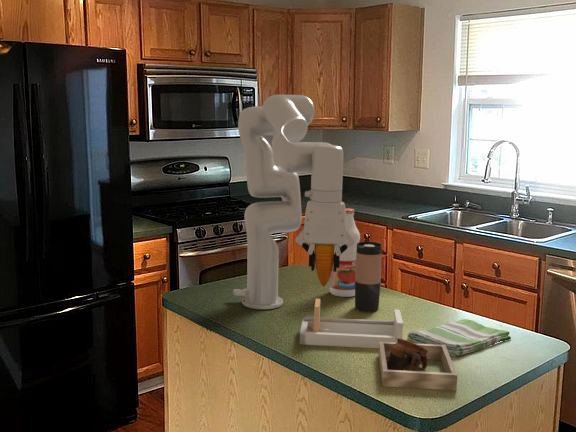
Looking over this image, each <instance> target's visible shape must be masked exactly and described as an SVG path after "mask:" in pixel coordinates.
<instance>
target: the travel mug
mask: <svg viewBox="0 0 576 432" xmlns="http://www.w3.org/2000/svg"><path fill="white" fill-rule="evenodd" d="M382 247H383V245H382V243H379V242H375V241H359V243H357V250H356V272H355V296H354V308H355V310H357V311H359V312H363V313H373V312H374V313H375V312H378V311H379V307H380V295H381V279H382V277H381V276H382V275H381V274H382V250H383V248H382Z"/></svg>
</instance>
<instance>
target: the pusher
mask: <svg viewBox="0 0 576 432" xmlns="http://www.w3.org/2000/svg"><path fill="white" fill-rule="evenodd" d="M313 311H314V316H313V317H314V332H326V333H330V331H331V329H320V318H321V298H315V303H314V310H313Z"/></svg>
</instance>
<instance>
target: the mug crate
mask: <svg viewBox="0 0 576 432" xmlns="http://www.w3.org/2000/svg"><path fill="white" fill-rule="evenodd" d="M395 343H396V342H379V348H378V359H379V369H380V376H381V385H382V387H387V388H388V387H389V388H391V387H392V388H407V389H421V390H422V389H423V390H424V389H425V390H442V391H443V390H444V391H457V390H458V389H457V388H458V386H457V385H458V373H457V371H456V368H455V365H454V363H453V361H452V358H451V355H449V353H448V350H447V348H446V345H435V344H420V343H417V342H415V343H414V342H413V343H414V344H417V345H419V346H421V347H423V348H424V349H426V350H427V351H428V352H427V354H426V357H427V360H433V361H434V360H437V361H440V362H441V364H442V367H443V369H444V372H437V371H436V372H435V371H422V370H421V371H420V370H419V371H417V370H416V371H405V370H404V371H403V370H387V363H386V360H387V358H389V355H390V352H391V351H390V350H391V347H392V346H393V345H394V344H395ZM404 358H407V354H404Z"/></svg>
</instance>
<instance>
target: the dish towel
mask: <svg viewBox="0 0 576 432" xmlns="http://www.w3.org/2000/svg"><path fill="white" fill-rule="evenodd" d="M511 337H512V336H511V335H510V331H509V330H503V329H497V328H493V327H489V326H488V327H487V326H484V325H483V324H481V323H479V322H476V321H475V320H471V319H466V318H463V319H460V320H454V321H452V322H448V323H445V324H443V325H438V326H433V327H429V328H425V329H423V330H410V331H409V332H408V334H407V339H408V340H410V341H411V342H415V343H416V344H435V345H446V348H447V350H448V353H449V355H450V357H454V358H457V357H459V356H463V355H464V356H465V355H468V354H471V353H473V352H477V351H480V350H483V349H485V348H484V347H486V348H488V347H487V346H489V347H491V346H490V345H493V346H495V345H494V344H495V343H497V342H500V341H505V340H508V341H510V340H511V339H512V338H511ZM509 339H510V340H509ZM505 342H506V341H505ZM482 348H483V349H482ZM479 349H480V350H479Z"/></svg>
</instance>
